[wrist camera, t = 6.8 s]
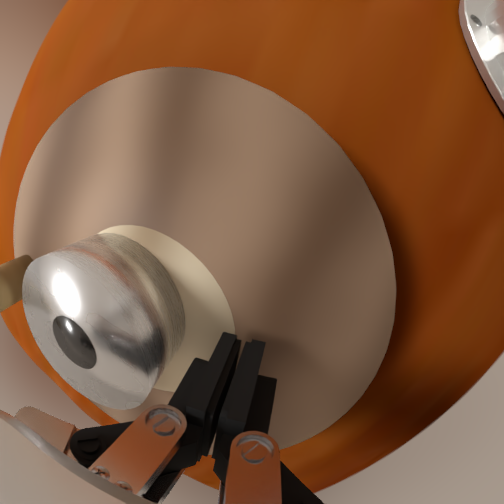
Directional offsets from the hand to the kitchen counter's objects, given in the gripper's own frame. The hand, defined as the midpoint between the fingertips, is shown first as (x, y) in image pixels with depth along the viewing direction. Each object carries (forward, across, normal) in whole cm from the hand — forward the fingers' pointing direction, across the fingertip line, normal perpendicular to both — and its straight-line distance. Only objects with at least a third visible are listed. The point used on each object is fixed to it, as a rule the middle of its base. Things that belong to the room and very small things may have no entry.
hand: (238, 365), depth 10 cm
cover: (+1, +6, 0) cm, 6 cm away
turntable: (+3, +5, 0) cm, 6 cm away
